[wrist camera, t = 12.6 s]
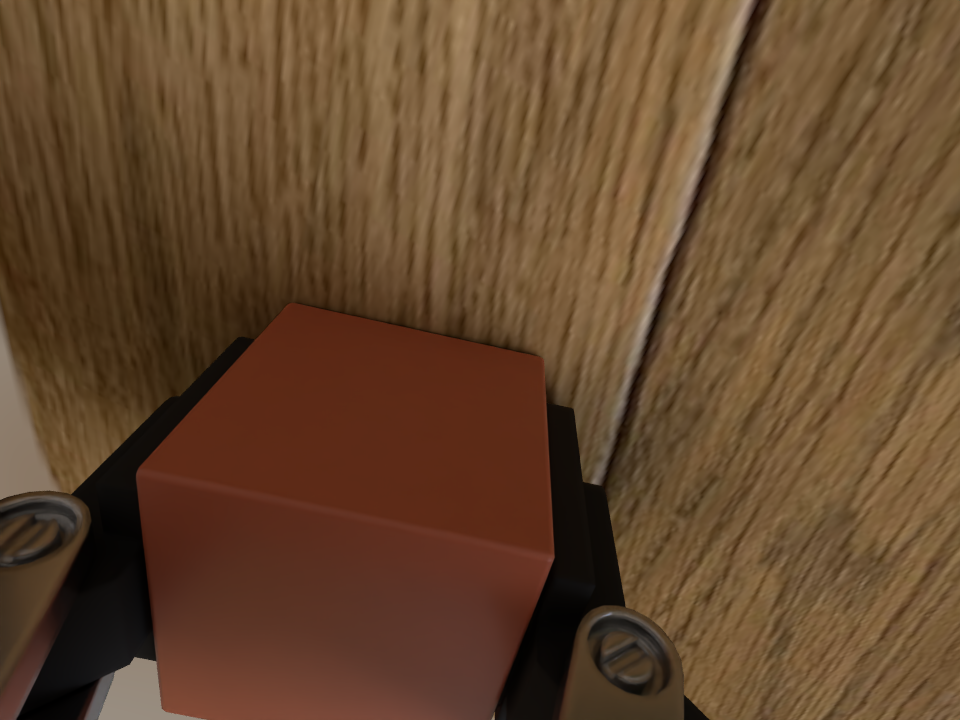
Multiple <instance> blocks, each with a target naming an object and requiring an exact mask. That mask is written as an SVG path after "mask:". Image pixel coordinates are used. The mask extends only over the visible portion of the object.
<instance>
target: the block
mask: <svg viewBox="0 0 960 720" xmlns="http://www.w3.org/2000/svg"><path fill="white" fill-rule="evenodd" d="M136 483H137V492H138V501H139V510H140V519H141V528H142V537H143V546H144V555H145V563H146V572H147V581H148V590H149V599H150V608H151V617H152V626H153V635H154V644H155V653H156V662H157V670H158V679H159V688H160V697H161V706H162V709H163V710H164V711H166V712H170V713H174V714H180V715H185V716H190V717H196V718H201V719H206V720H491V719H492V717H493V714H494V712H495V709H496V707H497V704H498V702H499V699H500V696H501V694H502V691H503V689H504V686H505V684H506V681H507V678H508V676H509V673H510V671H511V668H512V666H513V663H514V661H515V658H516V655H517V653H518V650H519V648H520V645H521V643H522V640H523V637H524V635H525V632H526V630H527V627H528V625H529V622H530V620H531V617H532V614H533V612H534V609H535V607H536V604H537V602H538V599H539V596H540V594H541V591H542V589H543V586H544V584H545V581H546V579H547V576H548V573H549V571H550V568H551V566H552V563H553V561H554V558H555V555H554V537H553V518H552V499H551V481H550V462H549V443H548V425H547V406H546V387H545V369H544V359H543V358H541V357H538V356H534V355H529V354H525V353H520V352H515V351H511V350H506V349H502V348H497V347H493V346H488V345H484V344H479V343H474V342H470V341H465V340H461V339H456V338H452V337H447V336H443V335H438V334H433V333H429V332H424V331H420V330H415V329H411V328H406V327H402V326H397V325H392V324H388V323H383V322H379V321H374V320H370V319H365V318H361V317H356V316H351V315H347V314H342V313H338V312H333V311H329V310H324V309H320V308H315V307H310V306H306V305H301V304H297V303H289V304H288V305H287V306H286V307H285V308H284V309H283V310H282V311H281V312H280V313H279V314H278V316H277V317H276V318H275V319H274V320H273V321H272V322H271V323H270V324H269V325H268V326H267V328H266V329H265V330H264V331H263V332H262V333H261V334H260V335H259V336H258V337H257V339H256V340H255V341H254V342H253V343H252V344H251V345H250V346H249V347H248V348H247V350H246V351H245V352H244V353H243V354H242V355H241V356H240V357H239V358H238V359H237V360H236V362H235V363H234V364H233V365H232V366H231V367H230V368H229V369H228V370H227V371H226V373H225V374H224V375H223V376H222V377H221V378H220V379H219V380H218V381H217V382H216V383H215V385H214V386H213V387H212V388H211V389H210V390H209V391H208V392H207V393H206V394H205V396H204V397H203V398H202V399H201V400H200V401H199V402H198V403H197V404H196V405H195V406H194V408H193V409H192V410H191V411H190V412H189V413H188V414H187V415H186V416H185V417H184V419H183V420H182V421H181V422H180V423H179V424H178V425H177V426H176V427H175V428H174V430H173V431H172V432H171V433H170V434H169V435H168V436H167V437H166V438H165V439H164V440H163V442H162V443H161V444H160V445H159V446H158V447H157V448H156V449H155V450H154V451H153V453H152V454H151V455H150V456H149V457H148V458H147V459H146V460H145V461H144V462H143V463H142V465H141V466H140V467H139V468H138V470H137V473H136Z"/></svg>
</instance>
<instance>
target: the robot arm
mask: <svg viewBox="0 0 960 720" xmlns="http://www.w3.org/2000/svg"><path fill="white" fill-rule="evenodd" d="M254 341H255V340H254V339H250V338H245V337H238V338H237V339H236V340H235V341H234V342H233V343H232V344H231V345H230V346H229V347H228V348H227V349H226V350H225V351H224V352H223V353H222V354H221V355H220V356H219V357H218V358H217V359H216V360H215V361H214V362H213V363H212V364H211V365H210V366H209V367H208V368H207V369H206V370H205V371H204V373H203V374H202V375H201V376H200V377H199V378H198V379H197V380H196V381H195V382H194V383H193V384H192V385H191V386H190V387H189V388H188V389H187V390H186V391H185V392H184V393H183V394H182V395H181V396H180V397H179V396H174V397H170V398H169V399H168V400H166V401H165V402H164V403H163V404H162V405H161V406H160V407H159V408H158V409H157V410H156V411H155V412H154V413H153V414H152V415H151V416H150V417H149V418H148V419H147V420H146V421H145V422H144V423H143V424H142V425H141V426H140V427H139V428H138V429H137V430H136V431H135V432H134V433H133V434H132V435H131V436H130V437H129V438H128V439H127V440H126V441H125V442H124V443H123V444H122V445H121V446H120V447H119V448H118V449H117V450H116V451H115V452H114V453H113V454H112V455H111V456H110V457H109V458H108V459H107V460H106V461H104V462H103V463H102V464H101V465H100V466H99V467H98V468H97V469H96V470H95V471H94V472H93V473H92V474H91V475H90V476H89V477H88V478H87V479H86V480H85V481H84V482H83V483H82V484H81V485H80V486H79V487H78V488H77V489H76V490H75V491H74V492H73V493H72V494H71V495H70V494H68V493H62V492H55V491H36V492H27V493H23V494H19V495H14V496H10V497H6V498H4V499H2V500H0V720H98V717H99V715H100V712H101V710H102V707H103V704H104V701H105V699H106V696H107V694H108V691H109V688H110V685H111V683H112V681H113V678H114V673H115V671H116V670H118V669H121V668H123V667H125V666H127V665H130V663H131V661H132V660H133V658H134V657H137V658H143V659H148V660H153V661H156V653H155V644H154V635H153V626H152V617H151V608H150V599H149V590H148V581H147V572H146V563H145V555H144V546H143V537H142V528H141V519H140V510H139V501H138V492H137V483H136V473H137V470H138V468H139V467H140V466H141V465H142V463H143V462H144V461H145V460H146V459H147V458H148V457H149V456H150V455H151V454H152V453H153V451H154V450H155V449H156V448H157V447H158V446H159V445H160V444H161V443H162V442H163V440H164V439H165V438H166V437H167V436H168V435H169V434H170V433H171V432H172V431H173V430H174V428H175V427H176V426H177V425H178V424H179V423H180V422H181V421H182V420H183V419H184V417H185V416H186V415H187V414H188V413H189V412H190V411H191V410H192V409H193V408H194V406H195V405H196V404H197V403H198V402H199V401H200V400H201V399H202V398H203V397H204V396H205V394H206V393H207V392H208V391H209V390H210V389H211V388H212V387H213V386H214V385H215V383H216V382H217V381H218V380H219V379H220V378H221V377H222V376H223V375H224V374H225V373H226V371H227V370H228V369H229V368H230V367H231V366H232V365H233V364H234V363H235V362H236V360H237V359H238V358H239V357H240V356H241V355H242V354H243V353H244V352H245V351H246V350H247V348H248V347H249V346H250V345H251V344H252V343H253V342H254ZM546 406H547V425H548V443H549V462H550V481H551V499H552V518H553V537H554V555H555V558H554V561H553V563H552V566H551V568H550V571H549V573H548V576H547V579H546V581H545V584H544V586H543V589H542V591H541V594H540V596H539V599H538V602H537V604H536V607H535V609H534V612H533V614H532V617H531V620H530V622H529V625H528V627H527V630H526V632H525V635H524V637H523V640H522V643H521V645H520V648H519V650H518V653H517V655H516V658H515V661H514V663H513V666H512V668H511V671H510V673H509V676H508V678H507V681H506V684H505V686H504V689H503V691H502V694H501V696H500V699H499V702H498V704H497V707H496V709H495V720H709V719H708V718H707V717H706V716H705V715H704V714H703V713H702V712H701V711H700V710H699V709H698V708H697V707H696V706H695V705H694V704H693V703H692V702H691V701H690V700H689V699H688V698H687V697H686V696H685V695H684V674H683V668H682V662H681V658H680V656H679V654H678V652H677V650H676V648H675V645H674V644H673V642H672V641H671V640H670V638H669V637H668V636H667V635H666V633H665V632H664V631H663V630H662V629H661V628H660V627H659V626H658V625H657V624H655V623H654V622H653V621H652V620H651V619H649V618H648V617H646V616H644V615H642V614H640V613H639V612H637V611H635V610H633V609H629V608H626V607H625V601H624V595H623V589H622V583H621V578H620V572H619V566H618V560H617V555H616V549H615V543H614V537H613V531H612V526H611V520H610V514H609V508H608V503H607V497H606V493H605V489H604V488H603V487H602V486H599V485H594V484H590V483H585V482H583V479H582V471H581V463H580V455H579V447H578V439H577V431H576V423H575V415H574V410H573V409H572V408H569V407H564V406H559V405H555V404H550V403H546Z"/></svg>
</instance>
